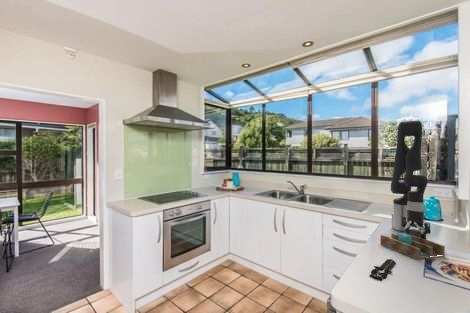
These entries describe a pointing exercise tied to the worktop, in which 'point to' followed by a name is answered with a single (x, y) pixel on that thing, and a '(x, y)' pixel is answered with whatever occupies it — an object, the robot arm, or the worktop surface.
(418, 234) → the charcoal plug
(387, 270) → the black bumpy piece
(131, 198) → the worktop surface
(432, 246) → the wooden bookshelf
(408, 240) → the teal plug
